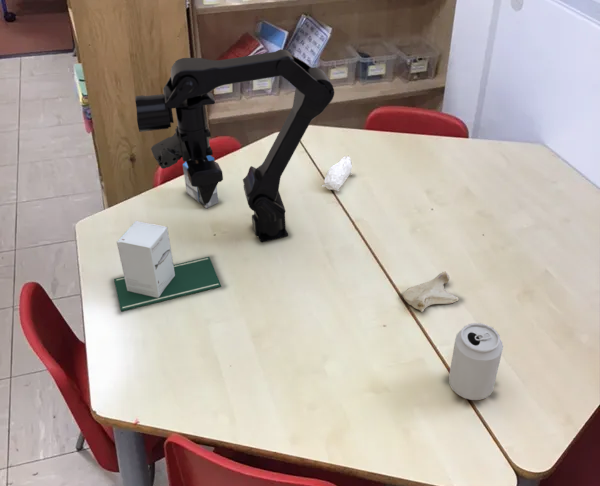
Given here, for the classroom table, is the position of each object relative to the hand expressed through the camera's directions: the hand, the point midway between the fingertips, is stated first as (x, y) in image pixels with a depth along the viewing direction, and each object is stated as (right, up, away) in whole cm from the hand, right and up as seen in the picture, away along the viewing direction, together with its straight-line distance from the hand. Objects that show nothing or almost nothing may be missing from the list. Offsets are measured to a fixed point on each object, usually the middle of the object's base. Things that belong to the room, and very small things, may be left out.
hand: (200, 191), depth 140 cm
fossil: (+47, -21, -8) cm, 52 cm away
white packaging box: (-9, -19, -4) cm, 22 cm away
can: (+50, -34, -26) cm, 66 cm away
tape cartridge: (-3, -1, +22) cm, 22 cm away
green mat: (-6, -19, -4) cm, 20 cm away
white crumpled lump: (+18, +1, +18) cm, 26 cm away
